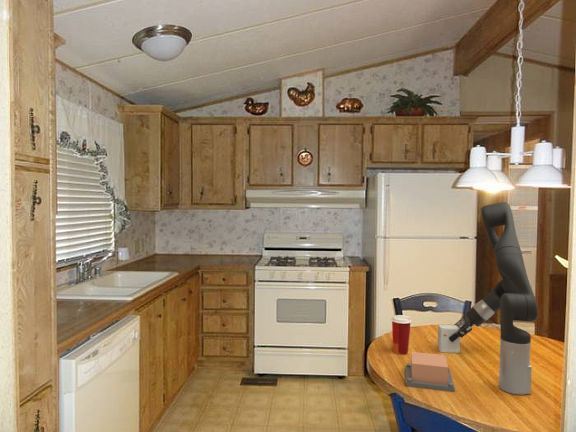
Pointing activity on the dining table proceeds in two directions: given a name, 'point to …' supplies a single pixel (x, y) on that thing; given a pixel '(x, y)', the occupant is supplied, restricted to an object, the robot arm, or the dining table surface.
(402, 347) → the coffee cup
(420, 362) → the tower base
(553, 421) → the dining table surface
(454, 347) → the small box
